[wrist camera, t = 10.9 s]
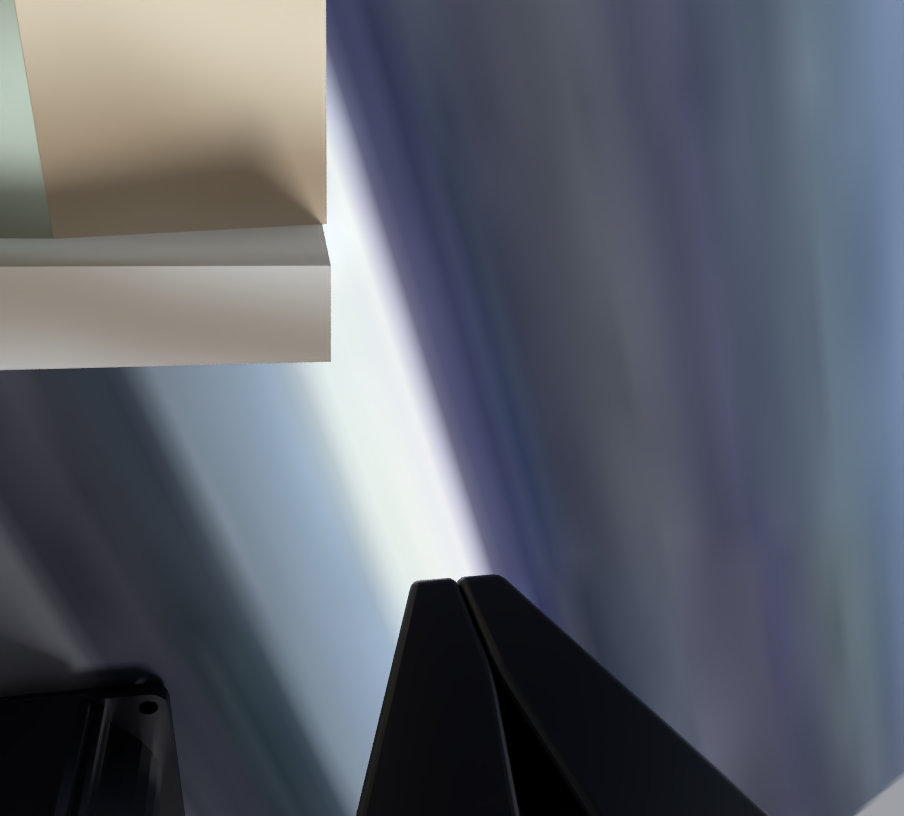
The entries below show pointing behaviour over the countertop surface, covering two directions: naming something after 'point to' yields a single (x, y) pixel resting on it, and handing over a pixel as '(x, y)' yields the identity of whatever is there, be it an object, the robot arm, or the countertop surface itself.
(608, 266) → the countertop surface
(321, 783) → the countertop surface
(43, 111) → the loading dock
